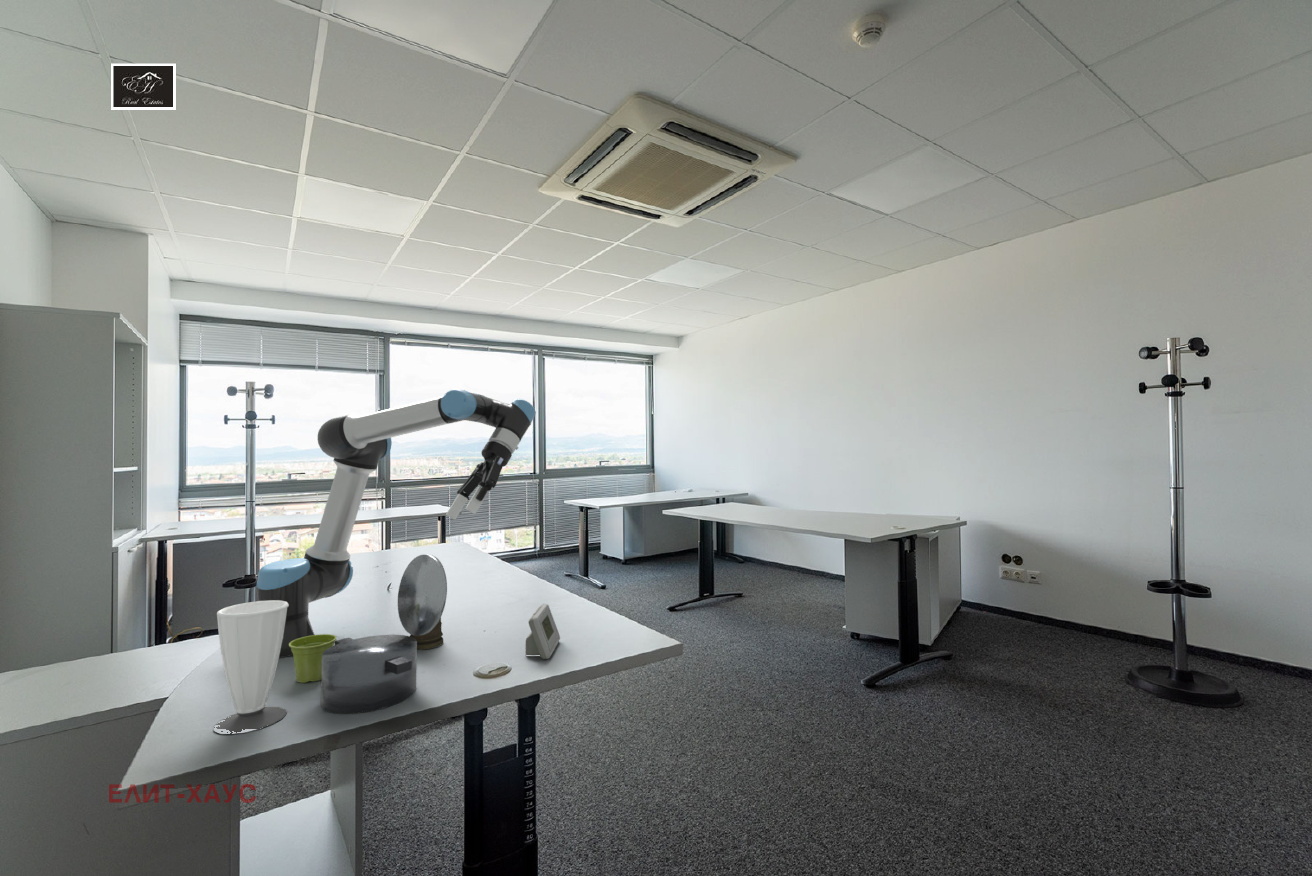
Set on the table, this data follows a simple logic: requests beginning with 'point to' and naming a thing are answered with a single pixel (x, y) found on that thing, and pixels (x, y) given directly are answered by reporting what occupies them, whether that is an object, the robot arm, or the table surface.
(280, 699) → the table surface
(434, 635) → the container
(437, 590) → the pot lid
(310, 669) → the plant pot
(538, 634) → the digital clock
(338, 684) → the cooking pot
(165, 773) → the table surface
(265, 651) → the cup
